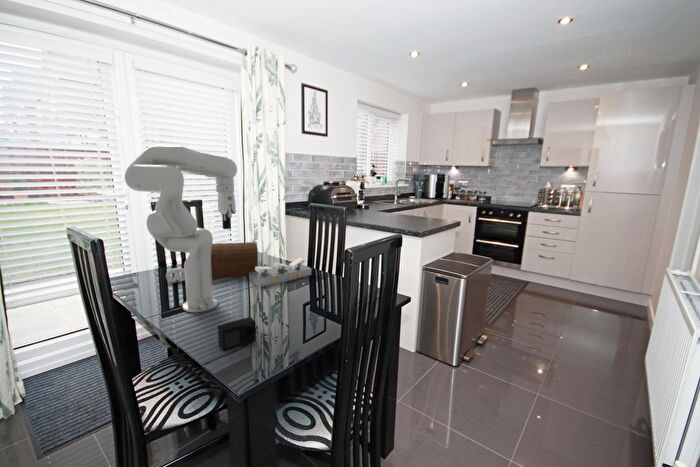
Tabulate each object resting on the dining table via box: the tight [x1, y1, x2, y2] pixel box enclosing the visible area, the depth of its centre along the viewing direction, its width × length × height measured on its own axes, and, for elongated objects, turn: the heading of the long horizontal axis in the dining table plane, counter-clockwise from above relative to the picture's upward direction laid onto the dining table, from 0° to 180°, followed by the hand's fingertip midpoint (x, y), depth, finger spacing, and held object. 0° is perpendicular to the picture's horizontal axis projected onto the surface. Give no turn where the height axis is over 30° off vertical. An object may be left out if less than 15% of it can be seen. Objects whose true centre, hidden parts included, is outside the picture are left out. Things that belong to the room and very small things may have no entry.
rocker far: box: [288, 257, 306, 269], centre depth 167 cm, size 5×7×2 cm, turn 131°
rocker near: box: [255, 265, 272, 273], centre depth 155 cm, size 5×7×2 cm, turn 131°
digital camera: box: [217, 316, 257, 352], centre depth 99 cm, size 10×5×7 cm, turn 129°
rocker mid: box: [272, 262, 290, 270], centre depth 161 cm, size 5×7×2 cm, turn 131°
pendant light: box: [165, 251, 185, 283], centre depth 151 cm, size 9×9×30 cm
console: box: [248, 264, 312, 288], centre depth 162 cm, size 12×29×5 cm, turn 131°
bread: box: [211, 241, 259, 279], centre depth 167 cm, size 18×30×16 cm, turn 109°
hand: (226, 228), depth 146 cm, fingers closed
